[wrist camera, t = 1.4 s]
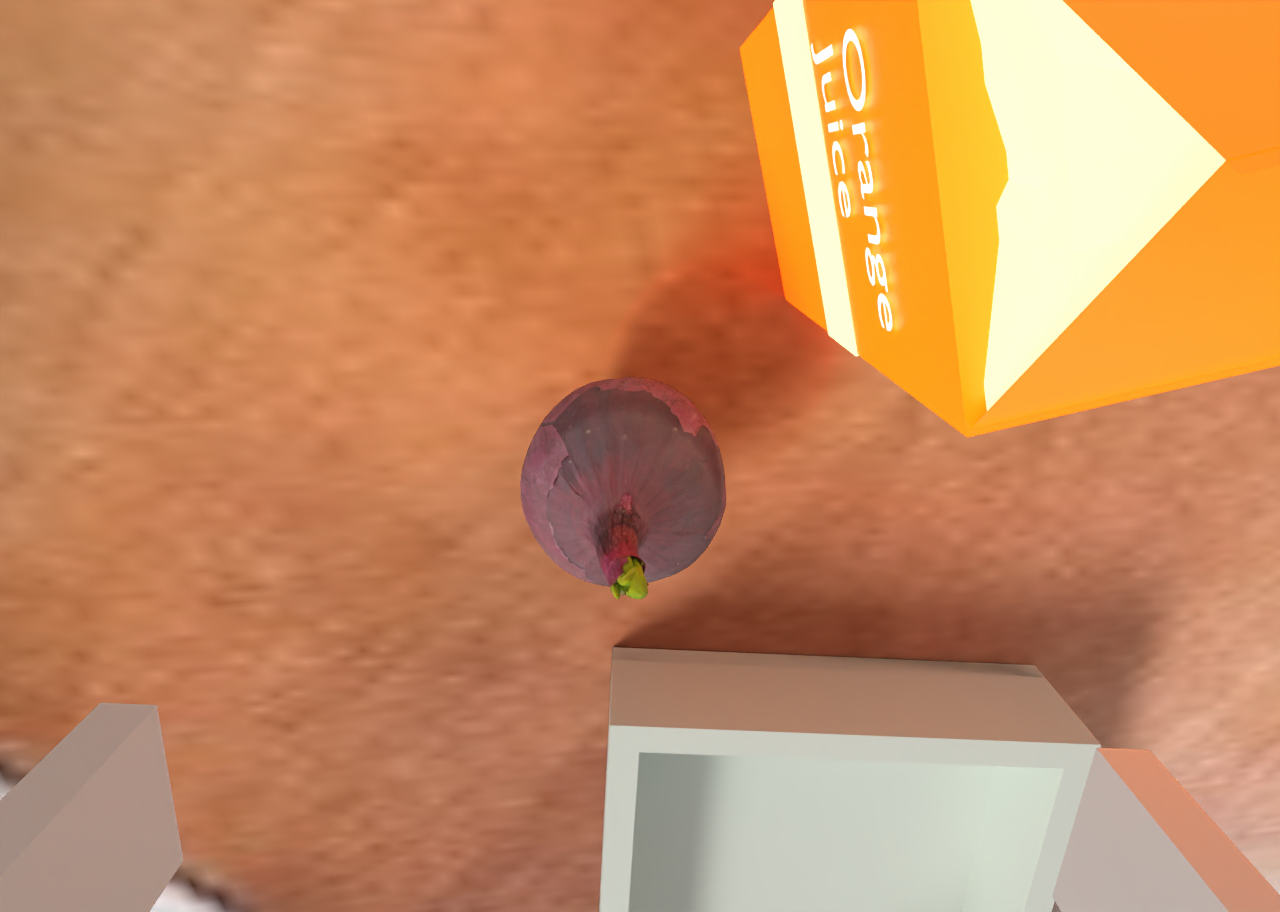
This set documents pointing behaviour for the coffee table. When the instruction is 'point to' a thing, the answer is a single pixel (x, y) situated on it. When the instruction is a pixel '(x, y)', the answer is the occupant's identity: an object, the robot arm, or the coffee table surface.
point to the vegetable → (624, 484)
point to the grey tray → (835, 784)
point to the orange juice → (1027, 193)
